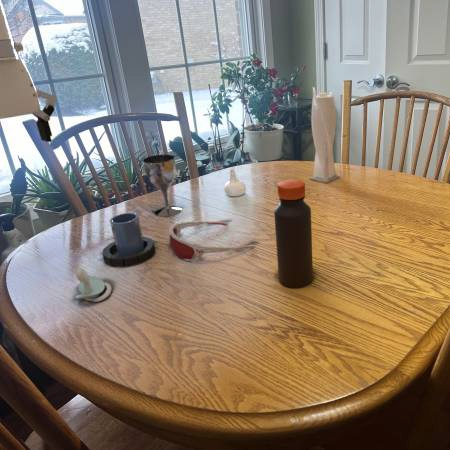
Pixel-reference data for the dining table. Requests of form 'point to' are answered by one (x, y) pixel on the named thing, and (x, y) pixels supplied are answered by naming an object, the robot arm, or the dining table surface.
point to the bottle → (293, 235)
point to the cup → (127, 234)
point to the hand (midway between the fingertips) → (21, 146)
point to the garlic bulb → (234, 185)
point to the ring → (130, 259)
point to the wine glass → (162, 179)
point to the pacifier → (91, 287)
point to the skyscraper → (323, 136)
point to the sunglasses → (191, 250)
